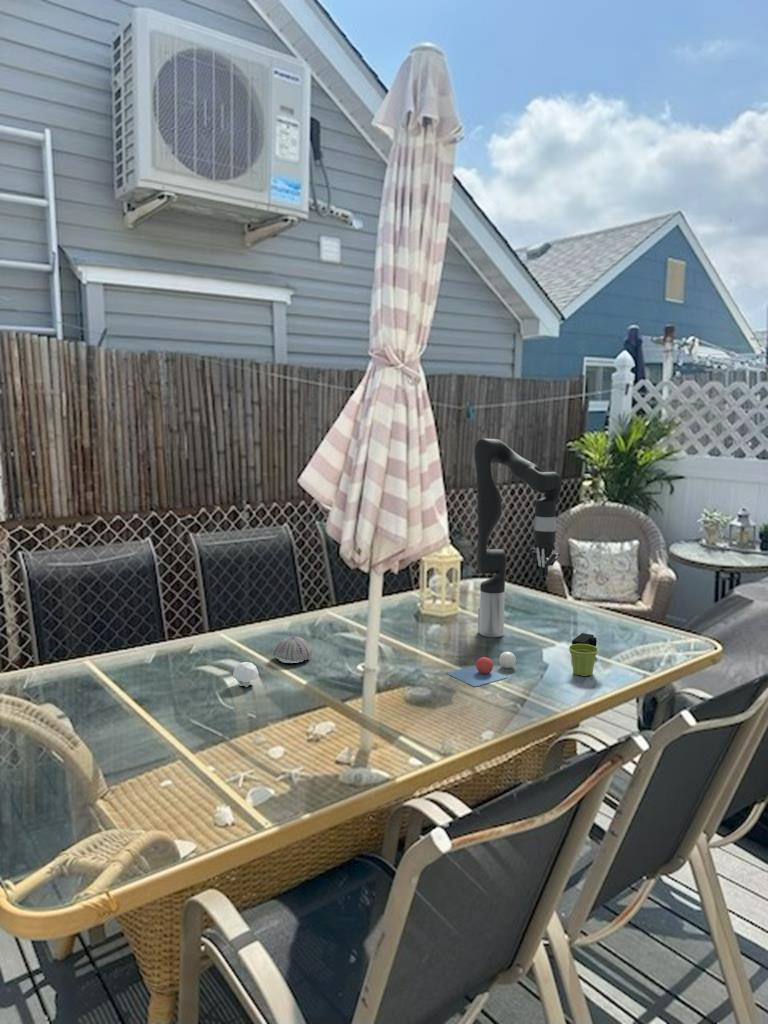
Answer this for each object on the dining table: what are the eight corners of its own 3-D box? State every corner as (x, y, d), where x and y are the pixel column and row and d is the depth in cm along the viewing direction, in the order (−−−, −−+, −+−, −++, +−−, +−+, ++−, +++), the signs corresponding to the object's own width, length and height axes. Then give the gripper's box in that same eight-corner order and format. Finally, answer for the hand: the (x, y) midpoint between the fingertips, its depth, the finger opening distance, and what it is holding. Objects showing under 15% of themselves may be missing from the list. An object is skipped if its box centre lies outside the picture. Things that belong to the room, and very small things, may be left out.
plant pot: (564, 675, 233) (565, 650, 231) (571, 666, 241) (572, 642, 240) (594, 680, 228) (595, 654, 227) (600, 671, 237) (601, 646, 235)
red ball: (485, 668, 238) (473, 673, 236) (484, 653, 238) (472, 657, 235) (497, 673, 234) (484, 678, 231) (496, 657, 233) (483, 662, 230)
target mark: (446, 673, 235) (446, 673, 235) (478, 665, 242) (478, 664, 242) (474, 687, 223) (474, 686, 223) (507, 677, 231) (507, 677, 231)
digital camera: (586, 662, 245) (587, 642, 244) (571, 659, 248) (571, 640, 247) (596, 654, 254) (597, 635, 253) (581, 651, 257) (582, 632, 256)
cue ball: (508, 649, 243) (506, 665, 243) (497, 649, 240) (494, 666, 240) (520, 653, 239) (518, 669, 239) (508, 653, 236) (506, 670, 236)
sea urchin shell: (315, 654, 254) (315, 632, 253) (308, 667, 241) (307, 644, 240) (279, 652, 256) (278, 631, 254) (269, 666, 242) (268, 643, 241)
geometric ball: (250, 696, 223) (252, 682, 218) (227, 685, 224) (228, 671, 219) (261, 677, 229) (263, 663, 223) (239, 667, 230) (241, 653, 224)
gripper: (523, 527, 255) (522, 574, 257) (551, 532, 244) (550, 582, 246) (538, 525, 259) (537, 572, 261) (566, 530, 248) (565, 579, 250)
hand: (543, 576), depth 254 cm, fingers closed
